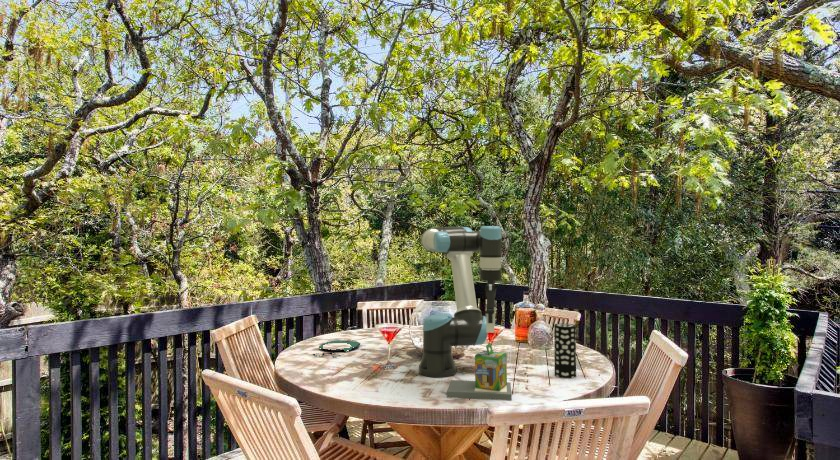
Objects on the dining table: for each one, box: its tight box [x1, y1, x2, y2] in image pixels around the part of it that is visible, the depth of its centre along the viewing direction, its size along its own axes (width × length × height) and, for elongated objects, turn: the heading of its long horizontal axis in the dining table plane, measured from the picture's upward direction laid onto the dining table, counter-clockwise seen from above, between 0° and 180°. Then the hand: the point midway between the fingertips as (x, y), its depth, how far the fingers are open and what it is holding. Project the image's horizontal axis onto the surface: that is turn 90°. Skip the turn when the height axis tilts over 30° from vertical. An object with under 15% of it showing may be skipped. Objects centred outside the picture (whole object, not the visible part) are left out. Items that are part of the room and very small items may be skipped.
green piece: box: [318, 339, 361, 352], centre depth 249 cm, size 20×30×2 cm, turn 164°
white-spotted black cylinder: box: [553, 322, 577, 379], centre depth 204 cm, size 8×8×20 cm
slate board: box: [446, 379, 513, 401], centre depth 182 cm, size 22×14×2 cm, turn 81°
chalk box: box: [474, 343, 508, 391], centre depth 182 cm, size 9×9×15 cm
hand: (490, 328), depth 182 cm, fingers open, 13 cm apart
